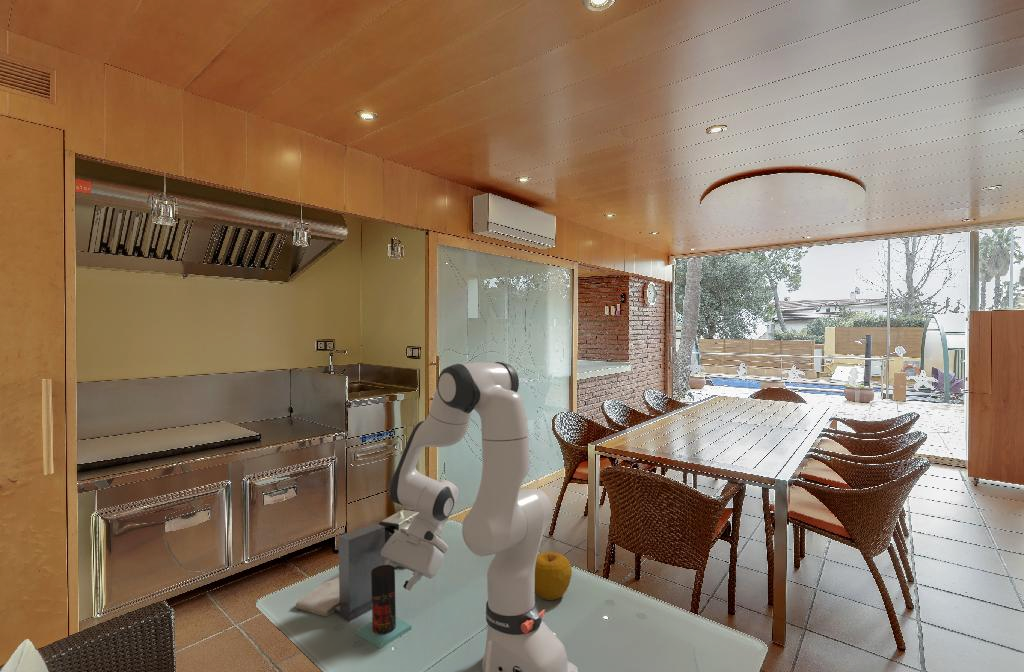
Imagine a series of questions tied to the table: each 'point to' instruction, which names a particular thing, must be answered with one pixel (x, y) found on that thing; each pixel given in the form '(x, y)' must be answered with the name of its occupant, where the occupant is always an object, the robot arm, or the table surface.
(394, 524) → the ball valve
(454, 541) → the table surface
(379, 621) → the deodorant
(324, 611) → the washcloth
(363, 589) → the block
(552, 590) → the apple
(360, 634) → the plate
